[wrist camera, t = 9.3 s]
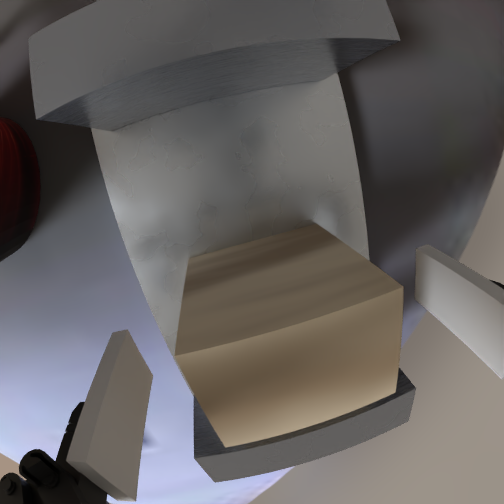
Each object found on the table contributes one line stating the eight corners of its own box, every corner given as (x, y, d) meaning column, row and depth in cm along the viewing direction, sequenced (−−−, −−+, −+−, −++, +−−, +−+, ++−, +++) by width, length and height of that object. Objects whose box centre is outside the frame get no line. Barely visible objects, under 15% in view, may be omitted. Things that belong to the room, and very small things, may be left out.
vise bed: (83, 30, 11) (13, -30, 3) (295, -18, 12) (349, -96, 4) (200, 394, 20) (203, 490, 12) (363, 346, 21) (419, 422, 13)
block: (188, 258, 15) (174, 356, 8) (317, 223, 16) (403, 286, 8) (215, 335, 17) (225, 447, 9) (328, 302, 17) (395, 392, 10)
